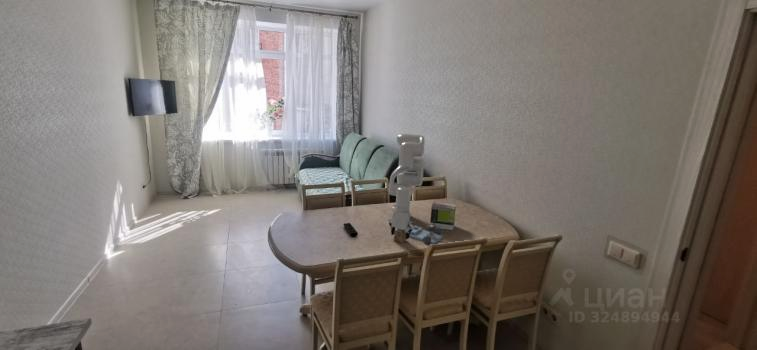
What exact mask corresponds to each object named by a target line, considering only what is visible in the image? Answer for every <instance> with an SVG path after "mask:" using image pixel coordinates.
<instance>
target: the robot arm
mask: <svg viewBox="0 0 757 350" xmlns="http://www.w3.org/2000/svg"><path fill="white" fill-rule="evenodd" d="M396 143H397V144H398V147H399V153H398V155H399V157H398V166H397V167H396V168H394V170H393V171H392V173H391V175H390V177H389V185H388V193H389V195H391V196H392V197H393V196H395V197H396V198H395V204H394V205H393V206H392V207H391V211H393V213H392V217H391V218H389V219H387V222H388V225H389V228H390V234H391V236H394V233H395V231H396V229H398V228H400V229H404V230H406V232H407V233H406V240H409V239H410V238H411V237H410V232H411V231H412V230H413V229H414V227H415V226H416V225H415V226H414V225H413V224H411V223H410V222H411V217H412V213H411V212H410V210H411V199H412V198H411V197H412V195H414V187H421V186H422V184H423V179H424V168H425V167H424V165H425V162H424V159H423V158H422V157H423V155H424V153H425V137H424V136H423V135H421V134H411V133H410V134H407V133H400V134H397V137H396ZM395 179H396V180H397V181H396V182H395ZM409 227H411V229H410V228H409Z"/></svg>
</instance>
